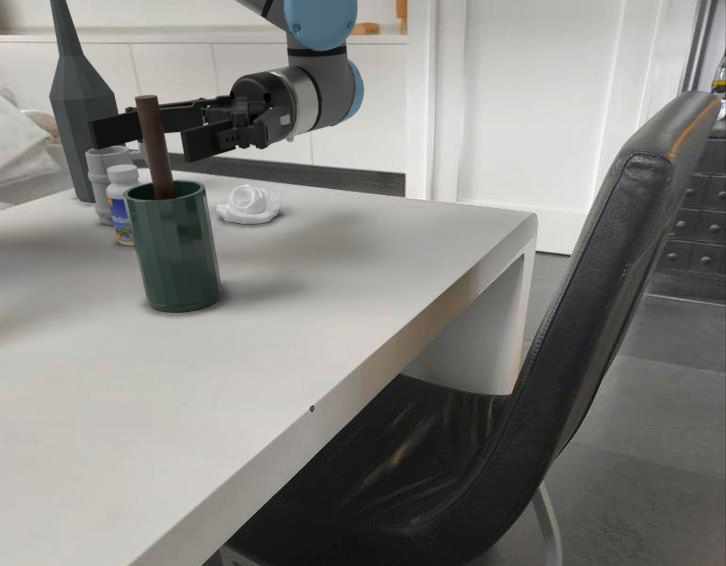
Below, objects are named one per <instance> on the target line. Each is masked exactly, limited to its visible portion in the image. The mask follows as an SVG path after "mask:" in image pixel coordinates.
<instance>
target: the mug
mask: <svg viewBox="0 0 726 566" xmlns="http://www.w3.org/2000/svg"><path fill="white" fill-rule="evenodd" d="M85 155H86V160H87V164H88V169H89V172H88V177H89V180H90V181H91V182H92V187H93V191H94V196H95V200H96V202H95V205H94V210H95V211H94V212H95V214H96V216H98V218H99V222H100V223H101V224H102V225H107V226H114V222H113V218H112V214H111V210H110V205H109V201H108V197H107V192H106V190H107V187H108V186H109V185H110V184H111V181H110V180H109V178H108V173H107V168H109V167H112V166H116V165H134V161H139V160H141V161H144V162H145V164H146V165H147V166H149V164H148V160H147V155H146V150H145V145H144V141H143V143H138V150H131V149H130V148H129V147H127V146H126V147H124V146H113V147H108V148H104V149H100V150H96V149H91V150H89V151H88V152H86V153H85Z"/></svg>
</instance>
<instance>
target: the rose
mask: <svg viewBox="0 0 726 566" xmlns="http://www.w3.org/2000/svg"><path fill="white" fill-rule="evenodd" d="M282 206H283V202H282V200H281V199H280V198H279V197H278V196H274V195H272V193H271V191H270V190H268V188H263V187H260V188H259V187H258V186H257V185H253V184H243V185H237V186H235V187H234V188H233V189H232V190H231V191H230V193H229V194H228V195H227V199H226V203H218V204H216V207H215V209H216V212H217V213H218V215H220V217H222V219H223V220H224V221H225V222H230V223H237V224H241V225H258V224H259V225H260V224H263V223H269V222H270V221H271V220H272V219H273V218H275V217H277V215H279V212H280V210H281V208H282Z"/></svg>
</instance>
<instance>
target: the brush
mask: <svg viewBox="0 0 726 566" xmlns="http://www.w3.org/2000/svg"><path fill="white" fill-rule="evenodd" d="M134 101H135V107H137V112H138V117H139V121H140V126H141V131H142V136H143V141H144V145H145V150H146V155H147V160H148V164H149V165H148V164H147V165H148V168H149V169H148V170H149V173H150V179H151V182H152V184H153V188H154V193H155V198H156V200H165V199H173V198H177V197H176V191H175V186H174V181H173V180H174V177H173V171H172V166H171V160H170V156H169V150H168V145H167V140H166V135H165V134H166V133H164V129H163V123H162V118H161V113H160V108H159V104H160V103H159V98H158V95H156V94H144V95H138V96H135V97H134Z"/></svg>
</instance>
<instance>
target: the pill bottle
mask: <svg viewBox="0 0 726 566" xmlns="http://www.w3.org/2000/svg"><path fill="white" fill-rule="evenodd" d="M107 173H108V178H109V180H110V181H111V184H110V185H109V186H108V187H107V190H106V192H107V197H108V201H109V205H110V210H111V214H112V218H113V222H114V231H115V234H116V235H115V236H116V239H117V241H118V243H119V244H120V245H124V246H131V247H135V246H134V241H133V237H132V233H131V229H130V225H129V220H128V216H127V212H126V208H125V203H124V199H123V193H124V192H125V191H126V190H127V189H130V188H132V187H134V186H138V185H141V184H144V183H143V181H139V178H140V174H139V169H138V166H137V165H135V164H133V165H116V166H112V167H109V168H107Z"/></svg>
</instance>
